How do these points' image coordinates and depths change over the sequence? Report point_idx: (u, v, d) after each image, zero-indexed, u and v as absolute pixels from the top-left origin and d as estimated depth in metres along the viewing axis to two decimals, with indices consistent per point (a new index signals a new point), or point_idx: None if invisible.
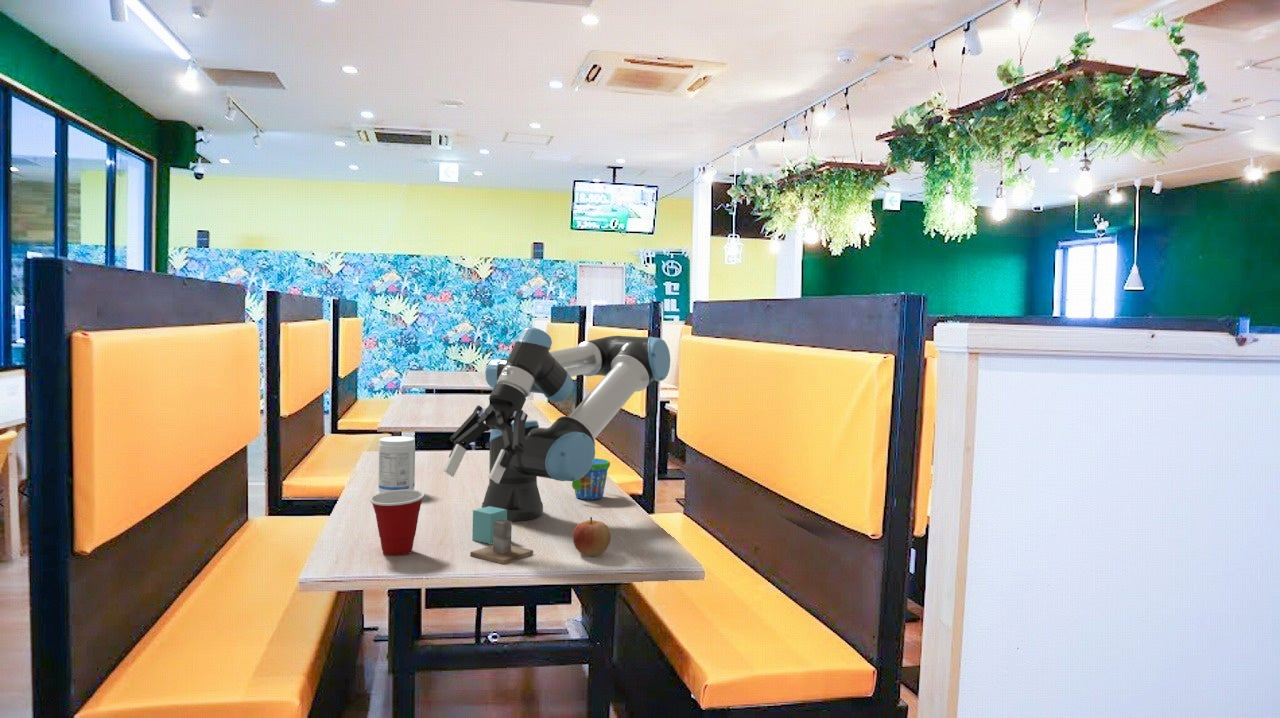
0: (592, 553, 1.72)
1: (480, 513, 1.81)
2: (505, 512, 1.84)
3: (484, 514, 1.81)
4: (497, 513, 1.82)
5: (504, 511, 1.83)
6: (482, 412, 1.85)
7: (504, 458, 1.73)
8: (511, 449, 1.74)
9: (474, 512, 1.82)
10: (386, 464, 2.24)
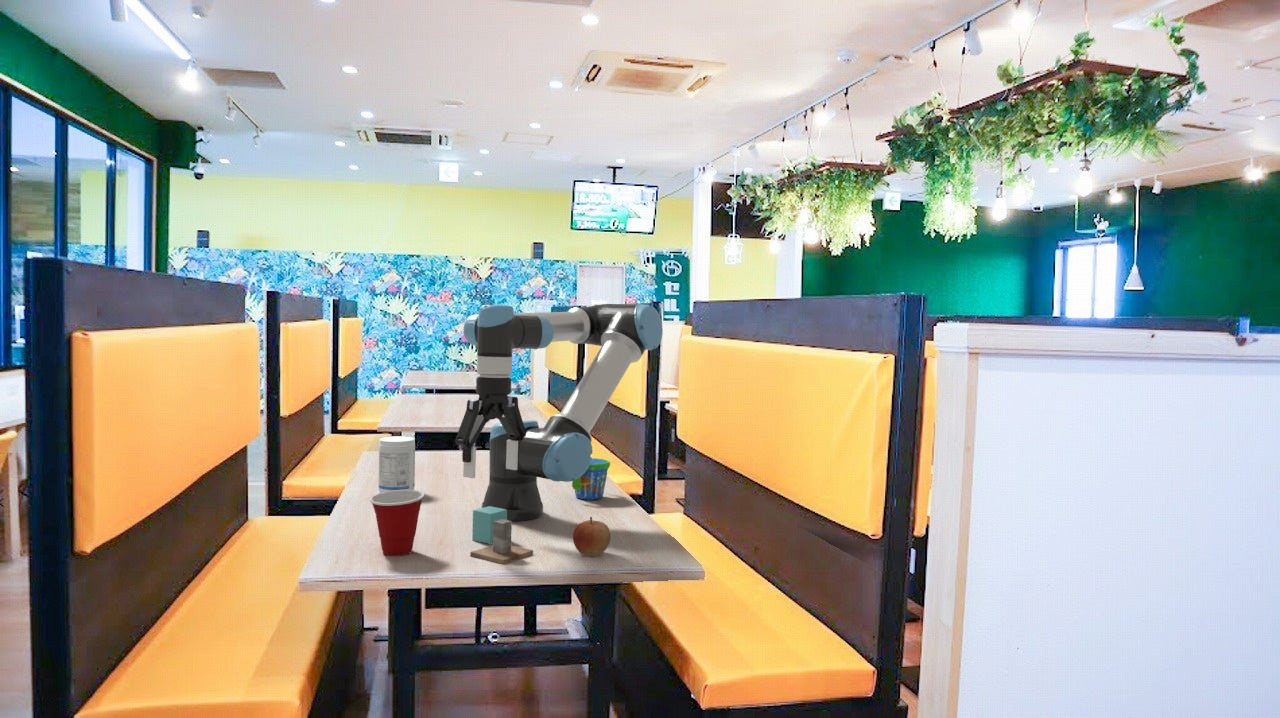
0: (592, 553, 1.72)
1: (480, 513, 1.81)
2: (505, 512, 1.84)
3: (484, 514, 1.81)
4: (497, 513, 1.82)
5: (504, 511, 1.83)
6: None
7: None
8: None
9: (474, 512, 1.82)
10: (386, 464, 2.24)
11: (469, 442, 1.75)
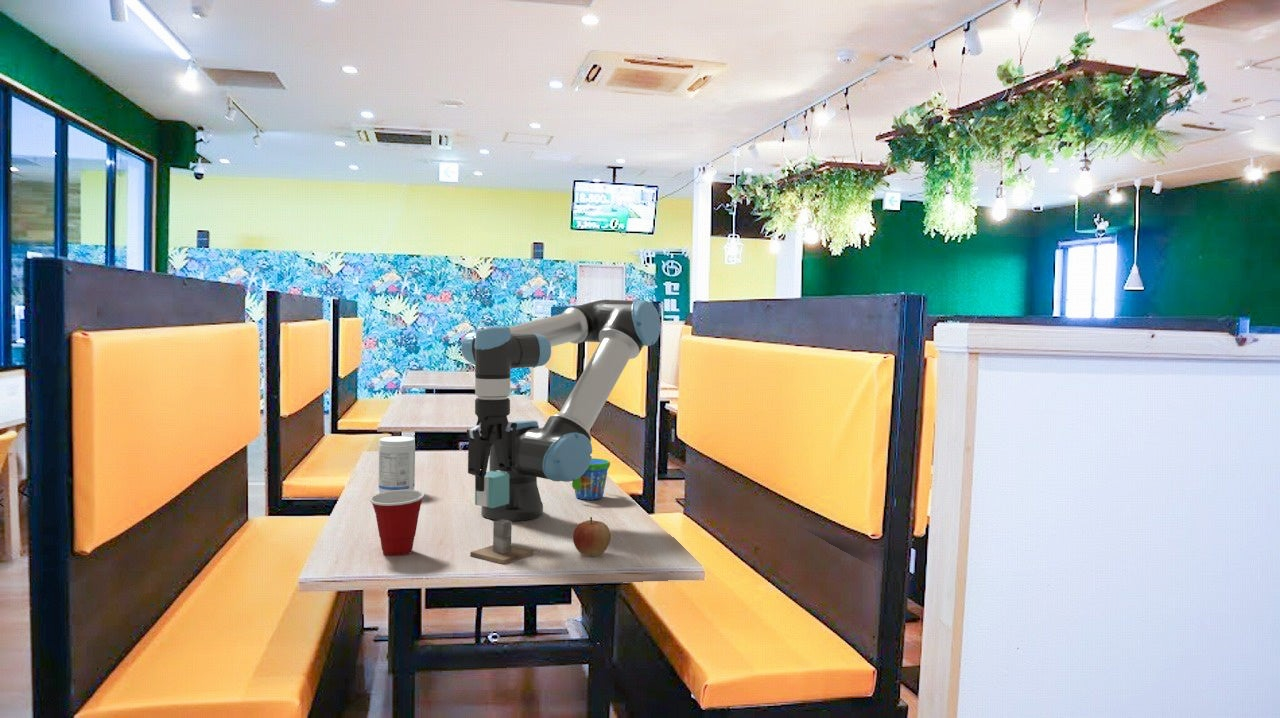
0: (592, 553, 1.72)
1: None
2: (507, 476, 1.84)
3: None
4: (499, 477, 1.82)
5: (506, 475, 1.83)
6: None
7: None
8: None
9: None
10: (386, 464, 2.24)
11: (481, 473, 1.79)
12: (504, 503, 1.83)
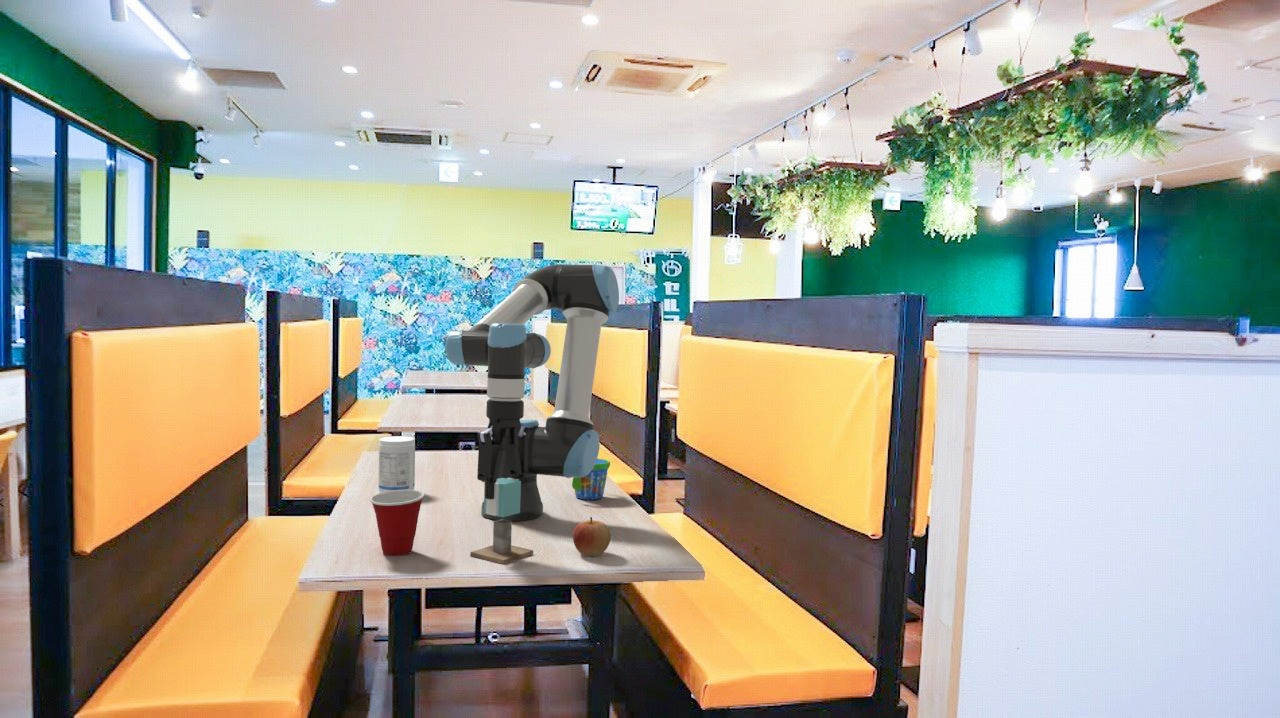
0: (592, 553, 1.72)
1: None
2: (519, 483, 1.72)
3: None
4: (510, 484, 1.70)
5: (518, 482, 1.72)
6: None
7: None
8: None
9: None
10: (386, 464, 2.24)
11: (491, 479, 1.67)
12: (515, 512, 1.71)
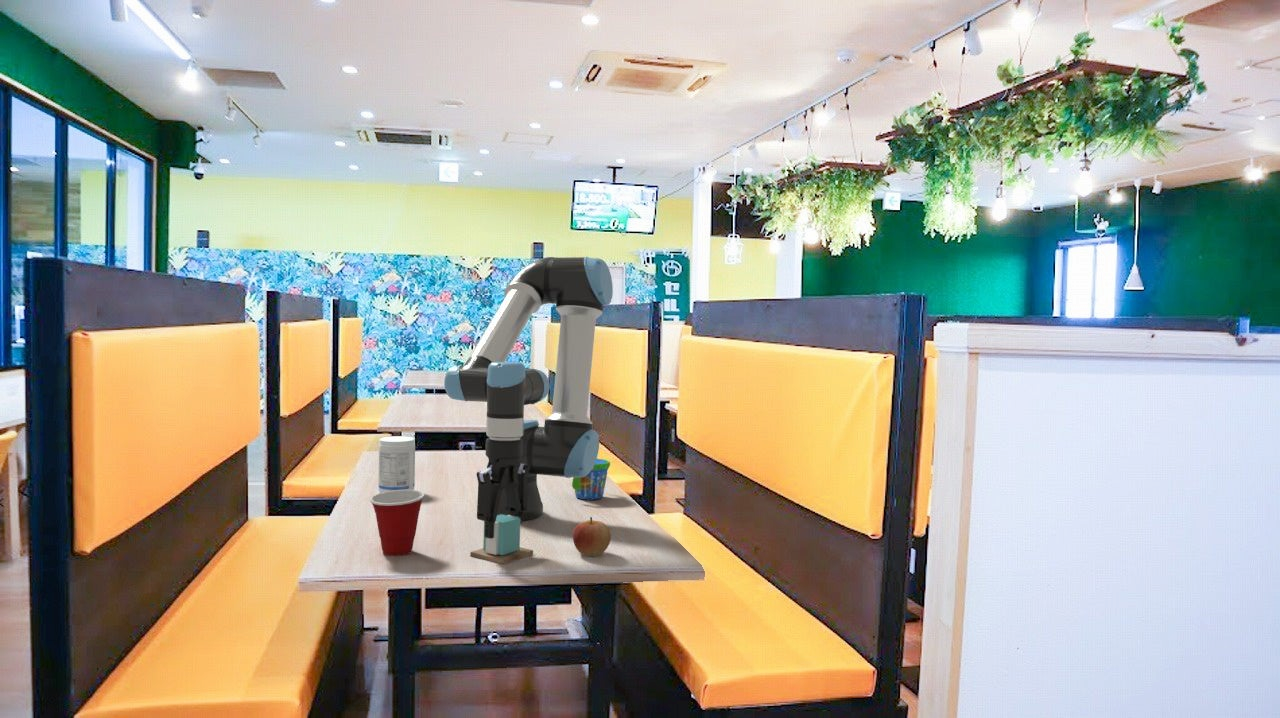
0: (592, 553, 1.72)
1: None
2: (518, 521, 1.72)
3: None
4: (510, 522, 1.70)
5: (517, 520, 1.72)
6: None
7: None
8: None
9: None
10: (386, 464, 2.24)
11: (491, 519, 1.68)
12: (514, 549, 1.72)
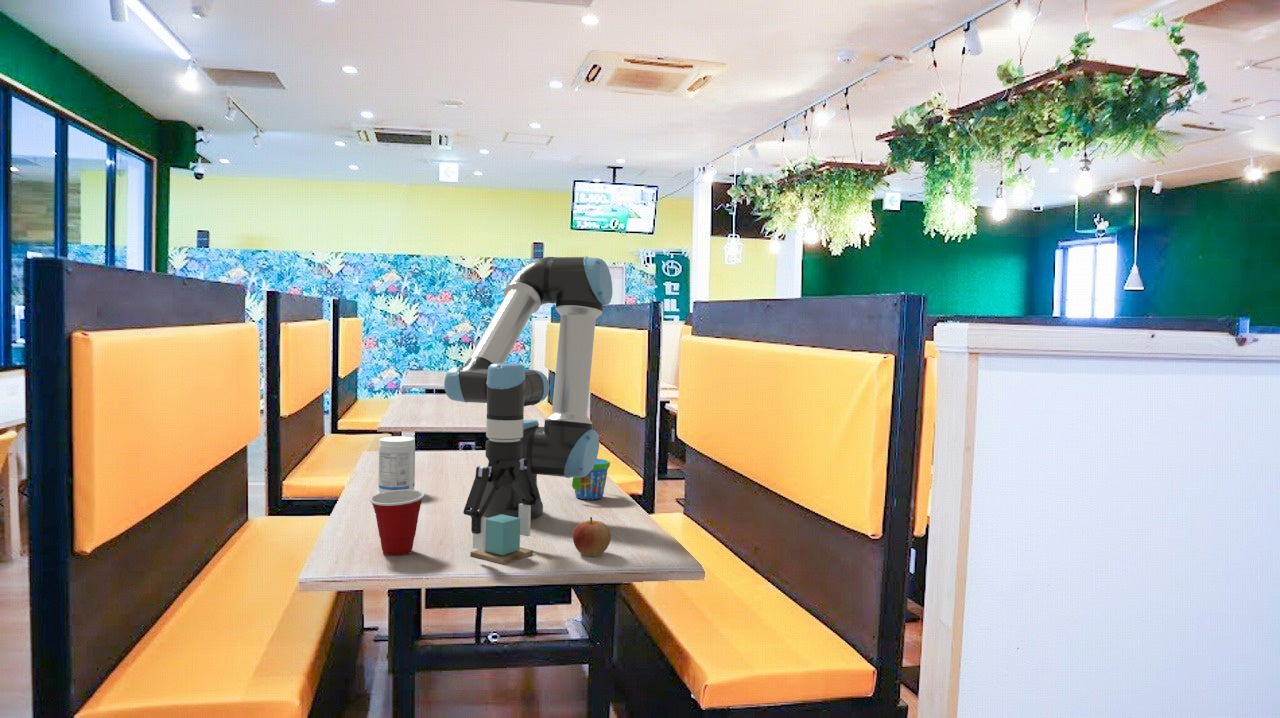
0: (592, 553, 1.72)
1: (492, 522, 1.70)
2: (518, 521, 1.72)
3: (496, 523, 1.69)
4: (510, 522, 1.70)
5: (517, 520, 1.72)
6: None
7: None
8: None
9: None
10: (386, 464, 2.24)
11: (478, 512, 1.65)
12: (514, 549, 1.72)
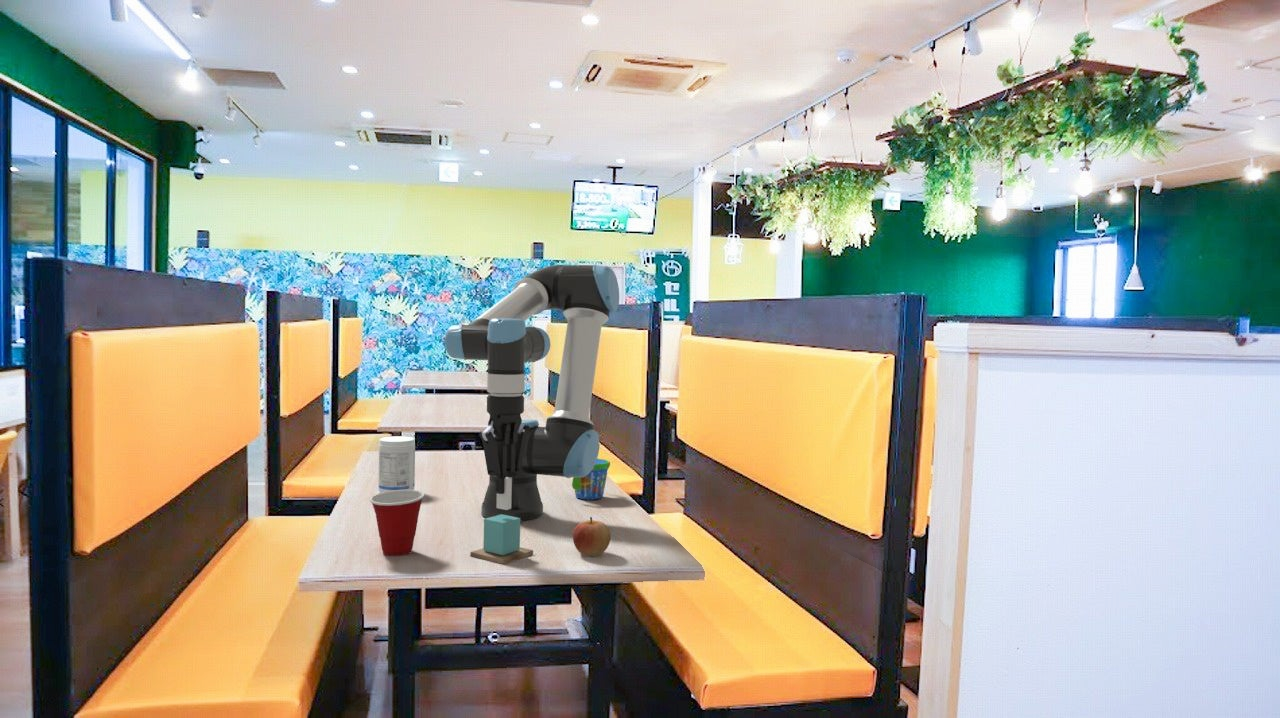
0: (592, 553, 1.72)
1: (492, 522, 1.70)
2: (518, 521, 1.72)
3: (496, 523, 1.69)
4: (510, 522, 1.70)
5: (517, 520, 1.72)
6: None
7: None
8: None
9: (485, 521, 1.71)
10: (386, 464, 2.24)
11: (501, 475, 1.70)
12: (514, 549, 1.72)
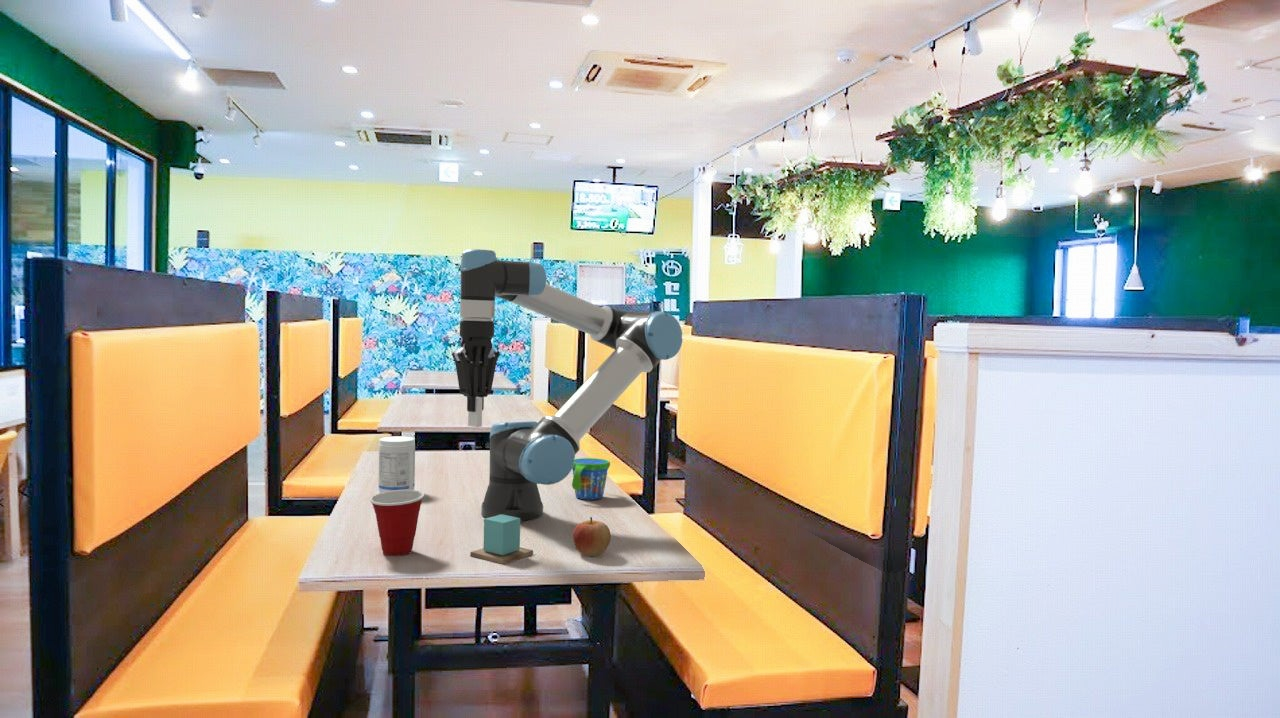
0: (592, 553, 1.72)
1: (492, 522, 1.70)
2: (518, 521, 1.72)
3: (496, 523, 1.69)
4: (510, 522, 1.70)
5: (517, 520, 1.72)
6: None
7: None
8: None
9: (485, 521, 1.71)
10: (386, 464, 2.24)
11: (473, 394, 1.84)
12: (514, 549, 1.72)
